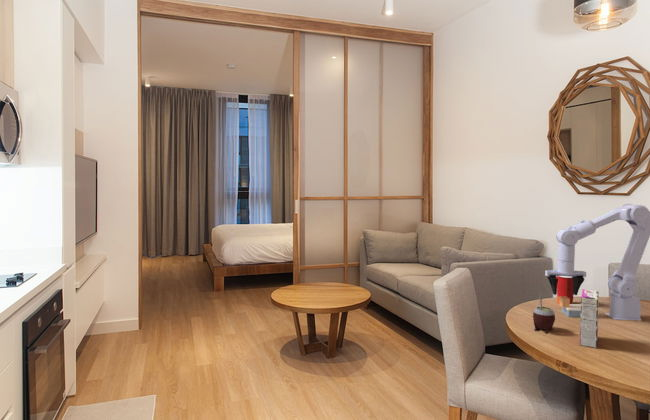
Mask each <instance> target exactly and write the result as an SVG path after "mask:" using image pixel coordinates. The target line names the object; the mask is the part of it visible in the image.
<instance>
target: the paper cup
mask: <svg viewBox="0 0 650 420" xmlns="http://www.w3.org/2000/svg"><path fill="white" fill-rule="evenodd" d="M561 275H562V274H561ZM556 277H557V278H558V283H557V294H556V297H557V299H556V300H557V304H558V305H560V297H568V298H570V304H574V296H575V295H574V294H573V278H572V276H556Z"/></svg>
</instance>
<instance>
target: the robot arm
mask: <svg viewBox="0 0 650 420" xmlns="http://www.w3.org/2000/svg"><path fill="white" fill-rule="evenodd" d="M615 221H625V222H626V223H628V224H629V226H630V227H631V229H632V230H633V231H632V234H631V236H630V239H629V241H628V244H627V247H626V250H625V252H624V254H623V257H622V259H621V260H622V261H621V263H620V265H619V268H617V269H616V270H615V271H614V273H613V274H612V276H611V277H609V279H608V280H607V287H608V288H609V289H610V296H609V312H605V313H604V314H605V315H607V316H608V317H610V318H612V319H613V320H616V321H617V320H618V321H620V320H621V321H639V322H641V321H642V319H641V309H642V304H641V303H642V302H641V299H640V298H639V296H638V295H636V293H637V290H638V287H637V283H638V278H637V275H636V273H637V271H638V267H639V266H640V263H641V260H642V258H643V255H644V252H645V251H646V247H647V244H648V242H649V240H650V209H648V208H647V207H646V206H645V205H642V204H632V203H625V204H623V205H621V206H617V207H615V208H614V209H612V210H610V211H608V212H605V214H602V215H600V216H598V217H597V218H594V219H593V220H588V219H585V220H584V219H581V220H580V221H579V222H578V223H576V224H575V225H573V226H571V225H570V226H568V227H567V228H565V229H561V230H559V231H558V232H557V235H556V236H555V239H556V241H557V242H558V245H557V246H558V248H557V249H558V250H557V269H551V270H550V269H548V270H546V269H545V271H544V272H545V274H544V276H546V277H547V280H548V282H549V284H550V286H551V291H552V294H553V295H554V296H555V295H556V296H557V283H558V278H557V276H572V278H573V294H574V296H578V293H579V290H580V287H581V286H582V284H583V283H584V281H585V278H587V272H586V271H584V270H575V254H576V253H575V252H576V244H577V243H578V241H579V240H582V239H585V238H586V237H589V236H592V235H594V234H595V233H596V231H597V229H599V228H602V227H604V226H606V225H608V224H610V223H614V222H615ZM561 274H562V275H561Z"/></svg>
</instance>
